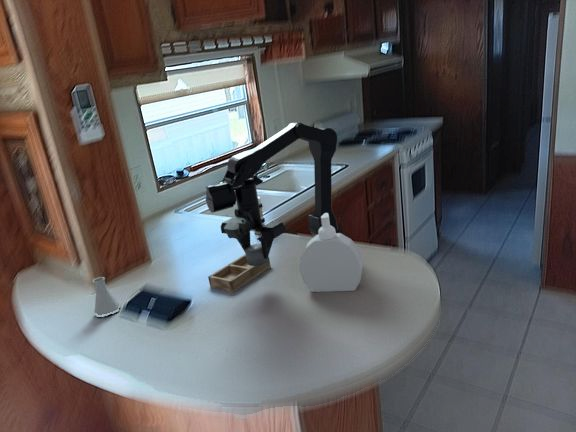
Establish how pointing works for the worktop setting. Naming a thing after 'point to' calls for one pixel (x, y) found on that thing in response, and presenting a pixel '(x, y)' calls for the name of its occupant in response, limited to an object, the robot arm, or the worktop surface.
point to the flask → (104, 298)
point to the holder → (236, 274)
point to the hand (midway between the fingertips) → (257, 256)
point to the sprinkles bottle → (261, 215)
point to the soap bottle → (331, 261)
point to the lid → (255, 255)
